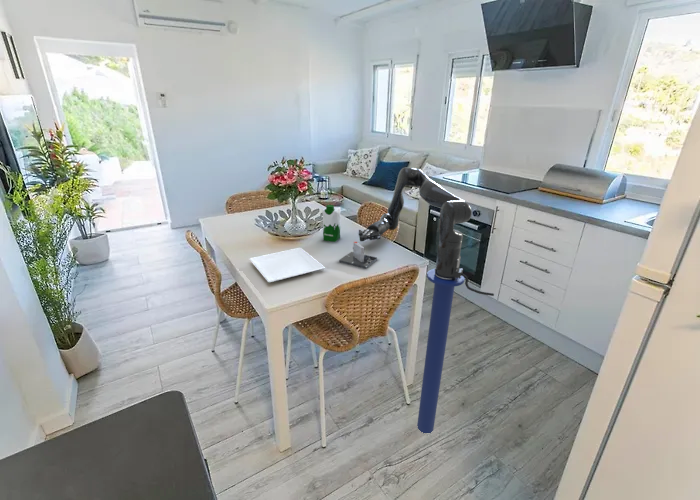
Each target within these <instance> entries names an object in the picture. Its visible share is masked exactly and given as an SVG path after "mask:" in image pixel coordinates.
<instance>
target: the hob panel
mask: <svg viewBox="0 0 700 500" xmlns="http://www.w3.org/2000/svg"><path fill="white" fill-rule="evenodd" d="M377 261H378V257H376V256H372V255H369V254H368V255H367V254H365V253H364V262H360V261H359V260H358V259H356V258H355V257H354V256H353V251H350V252H349V253H347V254H346V255H344V256H343V257H341V258H340V259H338V262H339V263H341V264H345V265H348V266H352V267H356V268H362V269H366V270H367V268H370V266H372V265H373V264H375V262H377Z"/></svg>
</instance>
